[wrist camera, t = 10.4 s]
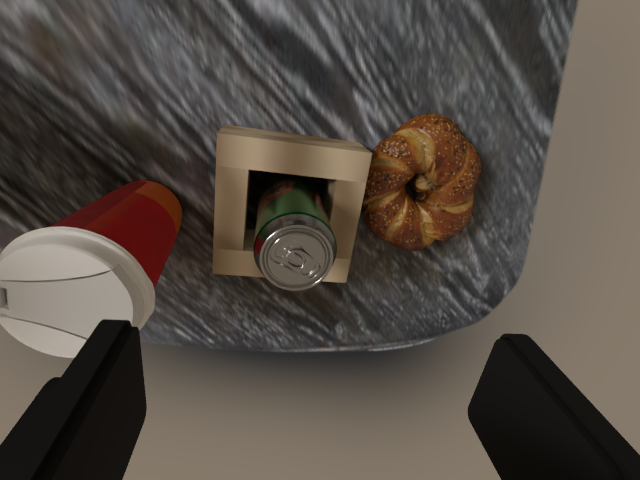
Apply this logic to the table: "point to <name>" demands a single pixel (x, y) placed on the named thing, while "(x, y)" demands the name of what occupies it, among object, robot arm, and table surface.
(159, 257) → the paper cup
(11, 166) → the table surface
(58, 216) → the table surface
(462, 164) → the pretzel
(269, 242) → the soda can
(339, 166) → the holder
